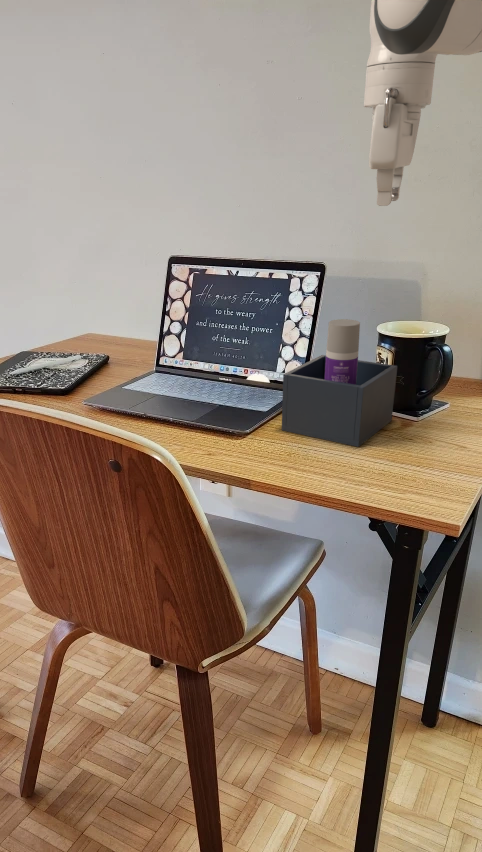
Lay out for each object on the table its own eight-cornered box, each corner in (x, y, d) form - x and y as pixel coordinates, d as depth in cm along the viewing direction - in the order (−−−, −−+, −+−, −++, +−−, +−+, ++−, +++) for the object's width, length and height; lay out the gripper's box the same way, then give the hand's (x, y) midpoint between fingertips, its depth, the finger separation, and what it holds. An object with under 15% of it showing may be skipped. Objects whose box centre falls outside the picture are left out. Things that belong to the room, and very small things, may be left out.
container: (330, 427, 103) (336, 327, 96) (317, 417, 107) (322, 320, 101) (358, 423, 104) (366, 324, 98) (344, 413, 108) (351, 317, 102)
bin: (391, 420, 107) (397, 365, 103) (358, 447, 98) (363, 387, 94) (318, 406, 114) (321, 354, 110) (281, 430, 105) (283, 374, 101)
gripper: (415, 84, 83) (403, 208, 89) (428, 94, 100) (416, 198, 106) (362, 87, 85) (354, 208, 91) (383, 97, 102) (375, 198, 108)
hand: (388, 203), depth 99 cm, fingers open, 8 cm apart
